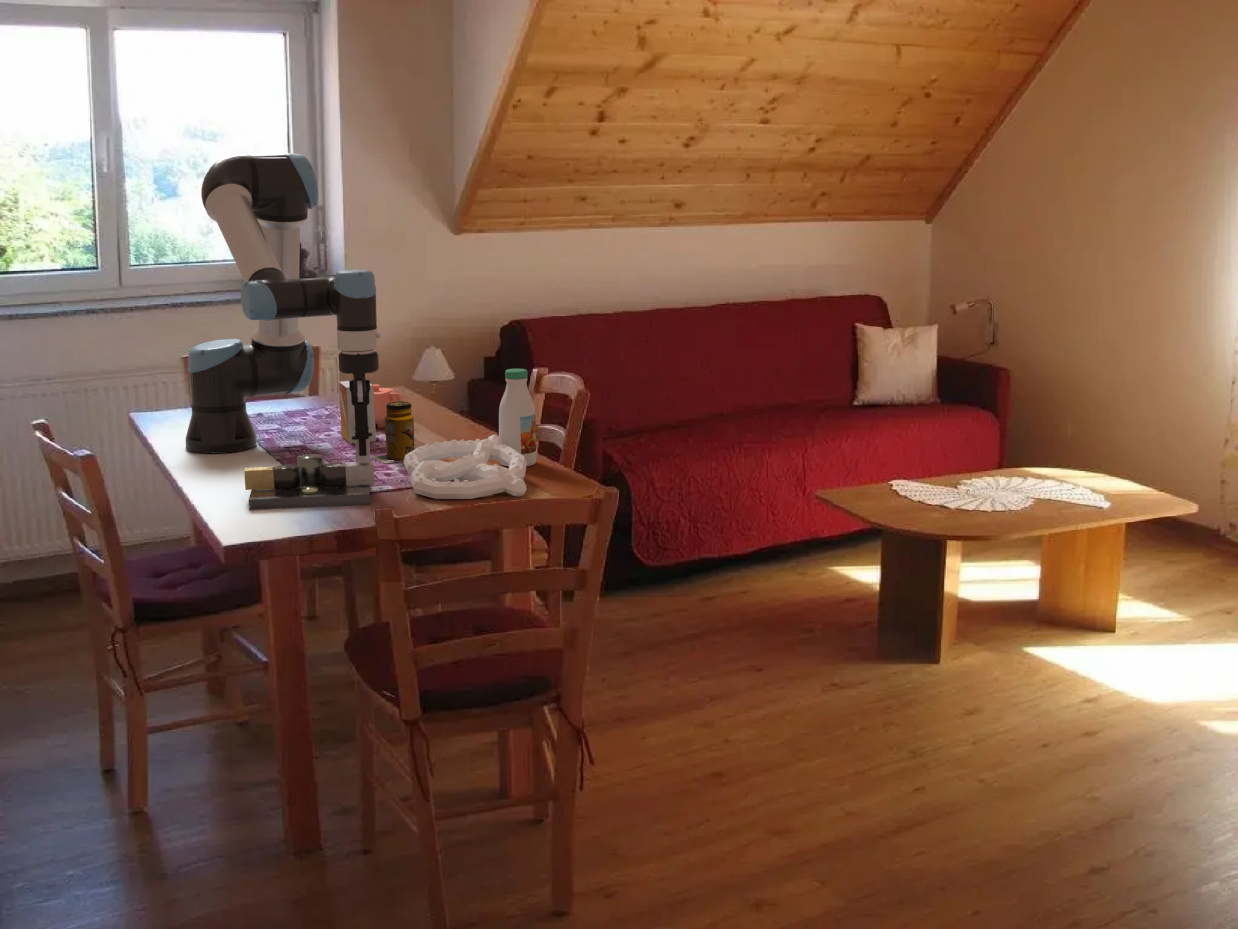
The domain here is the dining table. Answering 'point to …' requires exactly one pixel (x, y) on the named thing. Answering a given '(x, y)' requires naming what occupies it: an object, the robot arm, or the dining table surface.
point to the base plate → (309, 490)
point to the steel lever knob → (346, 474)
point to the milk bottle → (518, 416)
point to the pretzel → (466, 469)
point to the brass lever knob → (272, 477)
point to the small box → (349, 413)
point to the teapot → (383, 403)
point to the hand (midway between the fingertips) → (363, 470)
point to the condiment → (398, 432)
